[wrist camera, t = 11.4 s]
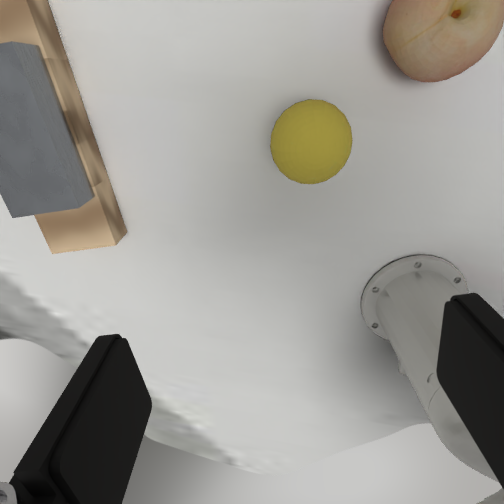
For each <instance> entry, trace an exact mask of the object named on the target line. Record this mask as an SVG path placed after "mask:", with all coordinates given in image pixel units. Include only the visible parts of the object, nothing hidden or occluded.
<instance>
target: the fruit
mask: <svg viewBox="0 0 504 504" xmlns="http://www.w3.org/2000/svg"><path fill="white" fill-rule="evenodd" d="M503 21H504V0H393V1H392V3H391V5H390V7H389V10H388V13H387V16H386V19H385V23H384V27H383V38H384V43H385V45H386V47H387V49H388V51H389V53H390V55H391V57H392V59H393V60H394V62H395V63H396V64H397V66H398V67H399V68H400V69H401V70H402V72H403V73H404V74H406V75H407V76H409V77H410V78H411V79H414V80H417V81H421V82H438V81H442V80H446V79H449V78H451V77H453V76H455V75H458V74H460V73H462V72H463V71H465V70H466V69H468V68H469V67H471V66H473V65H474V64H475V63H476V62H478V61H479V60H480V59H481V58H482V57H483V56H484V55H485V54H486V53H487V52H488V51H489V50H490V48H491V47H492V45H493V44H494V42H495V40H496V39H497V37H498V35H499V33H500V31H501V29H502V26H503Z"/></svg>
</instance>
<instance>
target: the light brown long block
mask: <svg viewBox="0 0 504 504" xmlns="http://www.w3.org/2000/svg"><path fill="white" fill-rule="evenodd" d="M11 41H13V42H19V43H26V44H32V45H38V46H39V47H40V50H41V52H42V55H43V58H44V60H45V63H46V66H47V68H48V71H49V74H50V76H51V79H52V82H53V84H54V87H55V90H56V93H57V95H58V98H59V101H60V103H61V106H62V109H63V111H64V114H65V117H66V119H67V122H68V125H69V127H70V130H71V133H72V135H73V138H74V141H75V143H76V146H77V149H78V152H79V154H80V157H81V160H82V162H83V165H84V168H85V170H86V173H87V176H88V178H89V181H90V184H91V186H92V189H93V192H94V194H95V197H94V198H92V199H91V200H90V201H88V202H87V203H85V204H84V205H83V206H81V207H80V208H77V209H70V210H64V211H57V212H50V213H43V214H37V215H34V216H35V218H36V220H37V222H38V224H39V227H40V229H41V231H42V233H43V235H44V237H45V239H46V242H47V244H48V246H49V248H50V250H51V252H52V254H56V253H63V252H71V251H78V250H85V249H93V248H100V247H107V246H115V245H117V244H118V242H119V241H120V240H121V239H122V238H123V237H124V235H125V234H126V233H127V230H126V227H125V224H124V221H123V219H122V216H121V213H120V210H119V207H118V204H117V201H116V198H115V195H114V192H113V189H112V187H111V184H110V181H109V178H108V175H107V172H106V169H105V166H104V163H103V160H102V157H101V155H100V152H99V149H98V146H97V143H96V140H95V137H94V134H93V131H92V128H91V125H90V123H89V120H88V117H87V114H86V111H85V108H84V105H83V102H82V99H81V96H80V93H79V91H78V88H77V85H76V82H75V79H74V76H73V73H72V70H71V67H70V64H69V61H68V59H67V56H66V53H65V50H64V47H63V44H62V41H61V38H60V35H59V32H58V29H57V27H56V24H55V21H54V18H53V15H52V12H51V9H50V6H49V3H48V0H0V43H5V42H11Z"/></svg>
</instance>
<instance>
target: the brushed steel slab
mask: <svg viewBox="0 0 504 504" xmlns="http://www.w3.org/2000/svg"><path fill="white" fill-rule="evenodd" d="M0 194H1V196H2V198H3V200H4V202H5V204H6V206H7V208H8V210H9V212H10V214H11V216H12V218H16V217H23V216H30V215H37V214H43V213H50V212H57V211H64V210H70V209H77V208H80V207H81V206H83V205H84V204H85V203H87V202H88V201H90V200H91V199H92V198H94V197H95V194H94V192H93V189H92V186H91V184H90V181H89V178H88V176H87V173H86V170H85V168H84V165H83V162H82V160H81V157H80V154H79V152H78V149H77V146H76V143H75V141H74V138H73V135H72V133H71V130H70V127H69V125H68V122H67V119H66V117H65V114H64V111H63V109H62V106H61V103H60V101H59V98H58V95H57V93H56V90H55V87H54V84H53V82H52V79H51V76H50V74H49V71H48V68H47V66H46V63H45V60H44V58H43V55H42V52H41V50H40V47H39V46H38V45H32V44H26V43H19V42H13V41H11V42H5V43H0Z"/></svg>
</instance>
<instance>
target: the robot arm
mask: <svg viewBox="0 0 504 504" xmlns="http://www.w3.org/2000/svg"><path fill="white" fill-rule="evenodd" d="M467 291H468V289H467V284H466V281H465V279H464V277H463V275H462V274H461V273H460V272H459V270H458V269H457V268H456V267H454V266H453V265H452V264H451V263H450V262H448V261H446V260H444V259H442V258H438V257H435V256H427V255H419V256H410V257H406V258H402V259H400V260H397V261H395V262H392V263H391V264H389V265H387V266H386V267H384V268H383V269H381V270H380V271H379V272H378V273H377V274H375V276H374V277H373V278H372V279H371V280H370V281H369V283H368V285H367V286H366V288H365V290H364V293H363V296H362V301H361V310H362V314H363V317H364V319H365V322H366V323H367V325H368V327H369V328H370V329H371V330H372V331H373V332H374V333H375V334H376V335H378V336H379V337H381V338H384V339H386V340H389V341H390V343H391V345H392V347H393V349H394V351H395V353H396V355H397V357H398V359H399V361H398V370H399V372H400V373H401V374H403V375H406V376H407V377H408V379H409V380H410V382H411V384H412V386H413V388H414V390H415V392H416V394H417V396H418V398H419V400H420V402H421V404H422V406H423V408H424V410H425V412H426V414H427V416H428V418H429V420H430V422H431V424H432V425H433V427H434V429H435V431H436V433H437V435H438V436H439V438H440V440H441V441H442V443H443V444H444V445H445V446H446V448H447V449H448V450H449V451H450V452H451V453H452V454H453V455H454V456H455V457H456V458H458V459H459V460H460V461H462V462H463V463H465V464H466V465H467V466H469V467H471V468H472V469H474V470H476V471H478V472H480V473H481V474H483V475H485V476H487V477H489V478H491V479H493V480H495V481H497V482H499V483H500V484H501V486H502V489H500V490H499V491H498V492H496V493H495V494H493V495H491V496H489V497H487V498H485V499H484V500H483V501H481V502H479V503H477V504H504V319H503V318H502V317H501V316H500V315H499V314H498V313H497V312H496V311H495V310H494V309H493V308H492V307H491V306H490V305H489V304H488V303H487V302H486V301H485V300H484V299H483V298H482V297H480V296H479V295H478V294H476V293H469V294H467ZM151 408H152V401H151V397H150V395H149V392H148V390H147V388H146V385H145V383H144V380H143V378H142V375H141V373H140V370H139V368H138V365H137V363H136V360H135V358H134V356H133V353H132V351H131V348H130V346H129V343H128V341H127V339H125V338H122V337H121V336H120V335H119V334H112V335H104V336H99V337H97V338H96V340H95V341H94V343H93V345H92V346H91V348H90V349H89V351H88V353H87V354H86V356H85V357H84V359H83V361H82V362H81V364H80V366H79V367H78V369H77V370H76V372H75V374H74V375H73V377H72V378H71V380H70V382H69V383H68V385H67V387H66V388H65V390H64V392H63V393H62V395H61V396H60V398H59V399H58V401H57V403H56V404H55V406H54V408H53V409H52V411H51V412H50V414H49V416H48V417H47V419H46V420H45V422H44V424H43V425H42V427H41V429H40V430H39V432H38V434H37V435H36V437H35V438H34V440H33V441H32V443H31V445H30V446H29V448H28V450H27V451H26V453H25V454H24V456H23V458H22V459H21V461H20V463H19V464H18V466H17V467H16V469H15V471H14V473H15V474H14V476H13V477H12V479H11V481H10V482H9V483H7V482H0V504H122V501H123V498H124V495H125V492H126V489H127V485H128V482H129V479H130V476H131V473H132V470H133V466H134V463H135V460H136V457H137V454H138V451H139V448H140V444H141V441H142V438H143V435H144V432H145V429H146V426H147V422H148V419H149V416H150V413H151Z"/></svg>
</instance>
